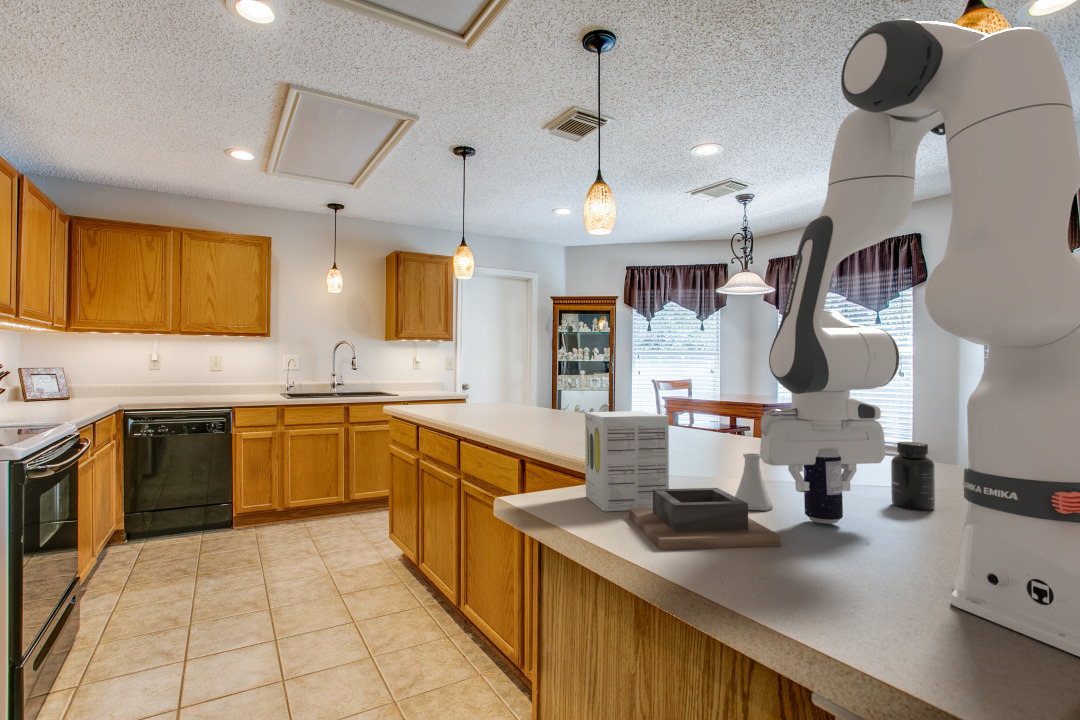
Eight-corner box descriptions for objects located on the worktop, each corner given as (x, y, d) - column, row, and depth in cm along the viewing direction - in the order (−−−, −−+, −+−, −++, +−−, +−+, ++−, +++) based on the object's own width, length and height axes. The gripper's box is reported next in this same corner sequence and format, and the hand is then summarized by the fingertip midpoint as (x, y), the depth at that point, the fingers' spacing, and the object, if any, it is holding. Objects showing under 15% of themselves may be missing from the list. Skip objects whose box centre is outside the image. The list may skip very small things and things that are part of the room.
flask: (729, 509, 102) (728, 455, 103) (735, 501, 109) (734, 450, 109) (771, 513, 99) (770, 458, 99) (774, 505, 105) (774, 452, 106)
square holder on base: (780, 545, 80) (780, 508, 81) (660, 549, 79) (660, 511, 79) (727, 514, 98) (727, 483, 98) (629, 517, 97) (628, 485, 97)
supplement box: (584, 496, 113) (583, 411, 114) (644, 493, 116) (644, 410, 116) (602, 512, 100) (602, 416, 101) (670, 509, 103) (670, 415, 103)
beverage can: (834, 516, 95) (832, 446, 95) (849, 525, 89) (846, 450, 89) (799, 515, 95) (798, 446, 96) (812, 524, 90) (810, 450, 90)
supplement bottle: (883, 504, 105) (882, 442, 105) (905, 501, 108) (904, 440, 108) (921, 513, 99) (919, 446, 99) (943, 509, 102) (942, 444, 102)
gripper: (770, 410, 89) (772, 496, 88) (890, 408, 90) (893, 493, 90) (752, 408, 95) (754, 489, 95) (864, 406, 97) (867, 486, 96)
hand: (822, 491), depth 92 cm, fingers closed on beverage can, 6 cm apart
